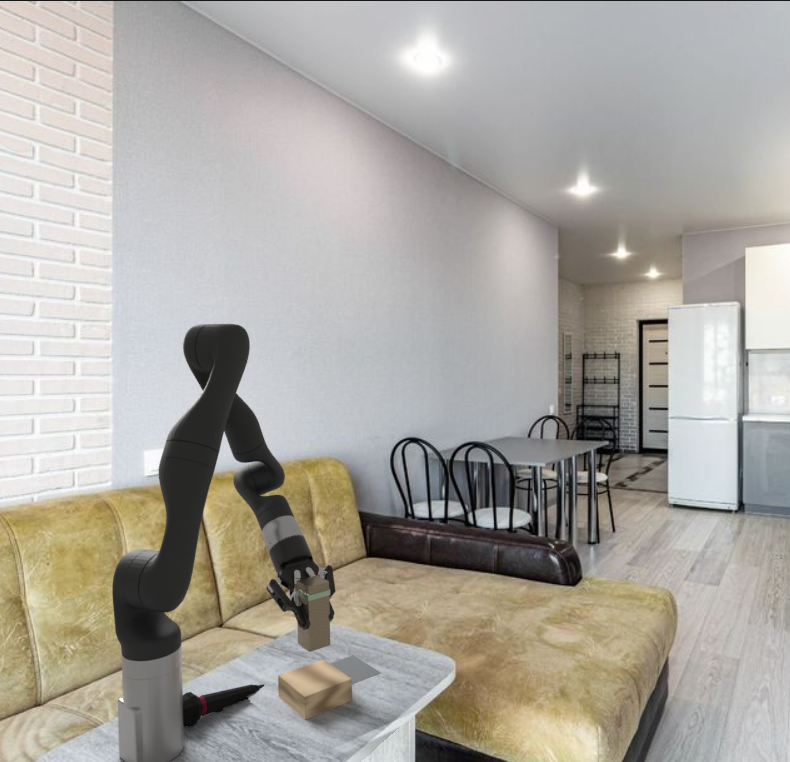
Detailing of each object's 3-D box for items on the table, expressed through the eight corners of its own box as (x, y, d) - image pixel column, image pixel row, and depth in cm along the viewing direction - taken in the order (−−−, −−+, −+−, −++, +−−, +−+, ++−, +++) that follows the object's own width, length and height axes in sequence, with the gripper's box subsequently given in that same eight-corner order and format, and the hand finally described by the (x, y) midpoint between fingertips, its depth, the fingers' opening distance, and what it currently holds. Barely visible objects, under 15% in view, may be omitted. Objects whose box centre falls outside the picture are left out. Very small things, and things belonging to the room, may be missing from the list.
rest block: (305, 724, 111) (304, 696, 111) (278, 701, 119) (278, 675, 119) (352, 705, 117) (351, 678, 117) (324, 684, 125) (323, 659, 125)
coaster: (339, 694, 121) (339, 688, 121) (312, 674, 129) (312, 669, 129) (381, 677, 127) (380, 672, 127) (353, 659, 135) (353, 655, 135)
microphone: (263, 700, 125) (167, 731, 111) (260, 669, 126) (165, 695, 112) (279, 701, 121) (182, 733, 107) (276, 669, 123) (180, 697, 109)
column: (309, 652, 114) (308, 587, 114) (296, 643, 118) (295, 580, 118) (331, 645, 117) (330, 581, 117) (318, 636, 121) (317, 575, 120)
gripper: (258, 541, 118) (291, 625, 109) (323, 527, 127) (358, 604, 118) (247, 561, 123) (277, 644, 114) (311, 547, 132) (344, 623, 122)
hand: (318, 623), depth 116 cm, fingers closed on column, 4 cm apart
